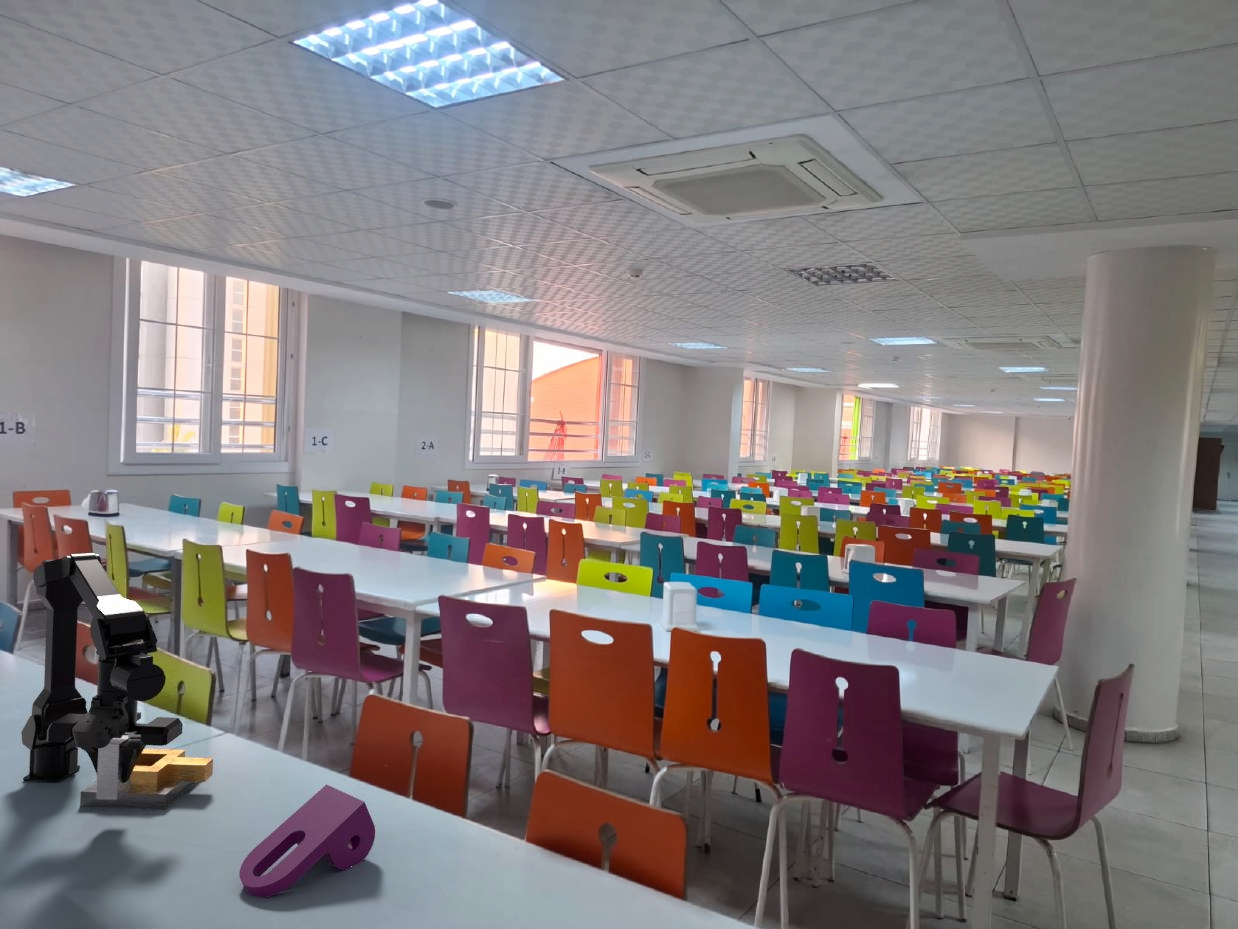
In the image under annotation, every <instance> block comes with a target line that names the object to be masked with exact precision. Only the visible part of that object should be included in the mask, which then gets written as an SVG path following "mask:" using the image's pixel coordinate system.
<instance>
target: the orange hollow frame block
mask: <svg viewBox="0 0 1238 929" xmlns="http://www.w3.org/2000/svg"><path fill="white" fill-rule="evenodd" d="M213 769H214V758H211V757H208V758H207V757H188V756H187V757H186V750H185V749H170V748H169V749H168V748H167V749H166V748H164V749H163V748H144V750H143V751H142V753H141V755H140V757H139V759H138V761H137V763H136V765H135V767H134V769H133V771H132V773H131V784H130V790H129V791H127V792H126V793H125V794H124V795H122V796H121V797H120V798H118V799H117V800H108V799H96V793H97V780H95V781H94V782H92V783H91V784H89V785H88V786H87V787H85V788H83V789H82V790H81V791H80V800H79V802H80V805H79V807H92V808H94V807H95V808H117V809H118V808H119V809H121V808H124V809H148V808H150V809H151V808H153V809H154V808H155V809H154V810H156V809H157V810H166V809H167V808H168V807H170V805H171V804H172V803H174V802H175V801H176V800H177V799H178V798H180V797H181V794H184V793H185V792H186V791H187V790H189V789H190V788H191V787H192V786H193V785H194V784H195V783H205V782H206V781H207V780H209V779H210V777H212V776H213V772H214V770H213ZM192 784H193V785H192ZM185 790H186V791H185ZM173 801H174V802H173Z"/></svg>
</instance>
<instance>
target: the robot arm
mask: <svg viewBox="0 0 1238 929" xmlns="http://www.w3.org/2000/svg"><path fill="white" fill-rule="evenodd" d="M32 578H33V584H34V586H35V588H36V595H37V597H38V599H40V601H41V602H42V603H43V605H44V606H45V607H46V618H45V619H46V621H45V622H46V624H45V626H46V627H45V651H44V652H45V654H44V682H43V688H42V691H41V692H40V693H39V694H38V696H37V697H36V698H35V700H34V701H33V703H32V706H31V708H32V709H31V715H30V716H29V717H28V719H27V721H26V723H25V725H24V726H23V728H22V730H21V743H22V745H23V746H25V747H26V748H27V749H29V766H28V767H29V769H28V771H29V772H28V774H27V775H25V776H23V777H22V781H25V782H48V783H49V782H50V783H51V782H52V783H54V782H55V783H56V782H57V783H59V782H61V781H63V780H64V779H67V777H69V776H71V775H72V774H74V773H75V772H76V771H78V770H79V769H81V766H80V764H78V761H79V760H78V759H79V748H80V749H81V750H83V751H84V752H86V753H87V755H88V757H89V759H90V760H91V761H90V762H91V763H92V766H93V768H94V771H95V773H96V774H97V769H98V748H104V747H106V746H107V745H108V744H109V743H110V741H111V739H113V738H121V737H122V736H123V735H126V736H128V738H129V739H128V742H127V743H125V744H124V745H122V746H121V747H120V748H121V749H122V751H123V753H124V756H123V767H122V782H123V783H125V782H127V781H128V780H129V778H130V775H131V773H132V771H133V769H134V767H135V765H136V763H137V761H138V759H139V757H140V755H141V753H142V751H143V750H144V749H146V747H147V746H157V747H158V746H159V747H162V746H167V745H168V744H170V743H172V742H173V741H174V740H176V739H177V738H178V737H179V736H181V735H183V727H184V726H183V722H182V721H181V719H180V717H167V716H166V717H163V716H157V717H156V718H154V719H153V720H151V721H150V722H148V723H138V722H137V721H139V720H140V719H142V712H139V711H138V704H139V702H146V701H149V700H152V699H154V698H155V697H157V696H158V695H159V694H160V693H161V692H162V690H163V689H164V687H165V683H166V680H167V679H166V675H165V674H166V673H165V672H164V670H163V669H162V667H161V666H159V665H157V664H156V663H154V656H153V655H151V654H153V653H157V652H158V647H157V643H158V638H157V636H156V633H155V630H154V628H153V625H152V621H151V620H150V617H149V616H148V614H147V613H146V612H145V610H144V609H143V608H142V607H141V606H140V605H139V604H138V603H137V602H136V601H135V600H130V599H127V598H125V597H123V596H122V595H121V593H120V592H119V590H118V588H117V587H116V585H115V584H114V583H113V581H112V579H111V577H110V576H109V575H108V573H107V571H106V569H105V568H104V567H103V565H102V559H101V556H100V555H99V553H97V554H96V553H94V552H87V553H85V552H84V553H71V554H70V553H69V555H65V556H63V557H61V558H58V559H48V560H47V559H45V560H42V562H41V564H39V565H37V566H35V568H34V569H33V574H32ZM83 602H84V604H85V605H86V608H88V610H89V612H90V614H91V616H92V619H91V622H90V627H89V632H90V638H91V641H92V643H93V645H94V647H95V649H96V652H95V654H96V655H97V656H98V661H97V662H98V663H97V665H98V666H97V684H96V685H97V689H96V690H97V691H96V695H95V696H92V698H91V701H90V707H89V710H88V709H87V700H86V699H85V697H84V696H83V695H81V693H80V692H79V690H78V689H77V687H76V677H77V676H76V675H77V673H76V672H77V647H78V616H79V607H80V606H81V604H83ZM142 641H143V642H142ZM150 653H151V654H150Z"/></svg>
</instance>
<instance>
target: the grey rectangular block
mask: <svg viewBox="0 0 1238 929" xmlns="http://www.w3.org/2000/svg"><path fill="white" fill-rule="evenodd" d="M128 739H129V738H128V736H126V735H123V736H122V737H121V738H113V739H111V741H110V743H109V744H108V745H107V746H106V747H104V748H98V769H97V773H96V781H97V793H96V799H108V800H117V799H118V798H120V797H121V796H122V795H124V794H125V793H126V792H127V791H129V790H130V784H131V775H130V778H129V780H128V781H127V782H125V783H123V782H122V767H123V756H124V753H123V751H122V749H121V748H120V747H121V746H122V745H124V744H125V743H127V742H128Z"/></svg>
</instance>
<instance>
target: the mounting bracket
mask: <svg viewBox="0 0 1238 929" xmlns="http://www.w3.org/2000/svg"><path fill="white" fill-rule="evenodd" d="M367 806H368V805H366V802H365V801H363V800H362V799H359V798H357V797H355V796H353V795H351V794H348V793H346V792H345V791H342V790H339V789H338V788H335V787H333V786H330V785H328V784H325V785H324V786H323V787H322V788H320V790H317V792H316V793H314V794H313V796H312V797H310V798H309V799H308V800H307V801H306V802H305V803H303V805H301V807H299V808H298V809H297V810H296V811H294V812H293V814H291V815H290V816H289V817H288V818H287V819H286V820H284V821H283V822H282V823H281V824H280V825H279V826H278V827H276V829H274V830H273V831H272V832H271V833H270V834H269V835H267V836H266V837H265V838H264V839H263V840H262V841H261V842H260V843H259V844H257V845H256V846H255V847H254V848H253V849H252V850H251V851H250V852H249V853H248V854H247V855H246V857H245V859H244V860H243V861H242V864H241V866H240V868H239V873H238V874H239V879H240V882H241V884H242V886H243V887H244V889H245V891H246V892H247V893H248V894H249V893H250V895H251V894H252V895H251V896H253V895H254V896H253V897H256V896H257V897H256V898H261V897H264V898H270V897H272V896H276V895H278V894H281V893H283V892H284V891H285V890H288V889H289V888H291V887H292V886H293V885H294V884H296V882H297V881H299V880H300V879H301V878H302V877H303V876H304V875H305V874H306V873H307V872H308V871H309V870H310V869H312V867H313V866H314V865H315V864H316V863H318V861H319V860H321V858H324V860H325V861H326V862H327V863H328V864H330V865H332V866H333V867H336V868H337V869H338V870H342V871H345V870H344V869H347V870H349V869H351V868H352V867H351V866H354V865H356V864H358V863H360V862H361V863H363V861H364V860H365V859H366V858H367V857H368V855H369V853H371V852H370V851H371V850H372V847H373V846H374V842H375V839H376V838H375V837H376V827H375V826H376V825H375V823H374V820H373V818H372V816H371V814H370V812H369V809H368V807H367ZM295 845H297V846H296V847H294V849H292V848H293V846H295ZM290 849H292V851H291V852H289V853H288V854H287V855H286V856H285V857H284V858H283V859H282V860H281V861H279V863H277V864H276V865H275V866H274V867H273V868H272V869H271V870H270V871H269V872H267V873H265V872H266V871H268V870H269V869H270V868H271V867H272V866H273V865H274V864H275V863H276V862H278V860H279V859H281V858H282V857H283V856H284V855H285V854H286V853H287V852H288V851H290ZM361 863H360V864H361ZM358 865H359V864H358ZM356 866H357V865H356ZM350 867H351V868H350ZM354 867H355V866H354ZM348 868H349V869H348Z"/></svg>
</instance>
